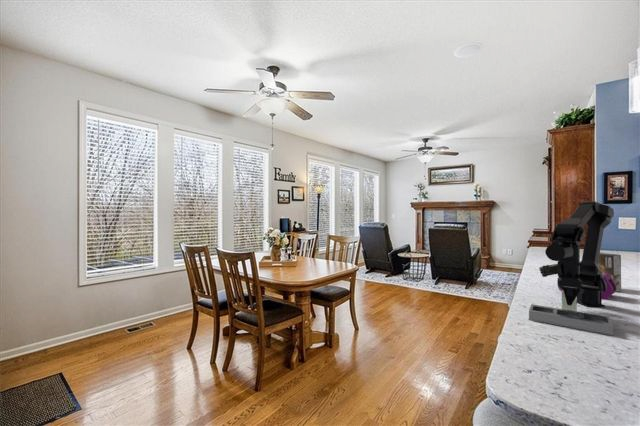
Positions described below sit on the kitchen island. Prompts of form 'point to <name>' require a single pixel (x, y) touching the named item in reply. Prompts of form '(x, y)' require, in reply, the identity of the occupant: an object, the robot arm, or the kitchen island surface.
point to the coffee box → (611, 267)
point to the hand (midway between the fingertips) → (569, 301)
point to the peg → (568, 307)
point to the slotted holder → (571, 319)
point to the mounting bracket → (610, 286)
